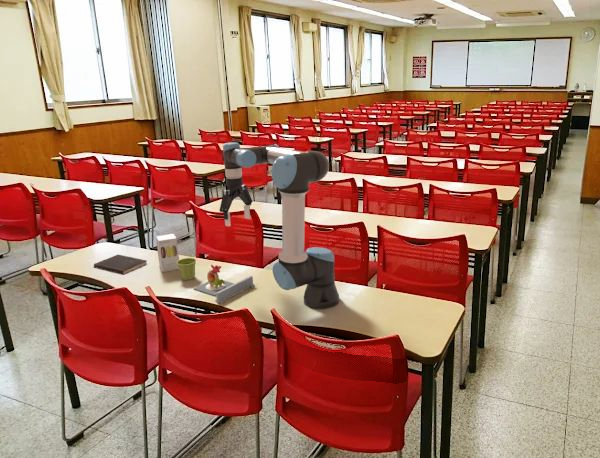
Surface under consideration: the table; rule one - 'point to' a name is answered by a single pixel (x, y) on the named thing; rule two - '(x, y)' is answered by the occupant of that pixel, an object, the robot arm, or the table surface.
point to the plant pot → (187, 268)
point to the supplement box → (167, 252)
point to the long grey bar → (234, 289)
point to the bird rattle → (214, 276)
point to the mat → (212, 288)
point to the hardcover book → (120, 264)
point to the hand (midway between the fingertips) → (238, 222)
